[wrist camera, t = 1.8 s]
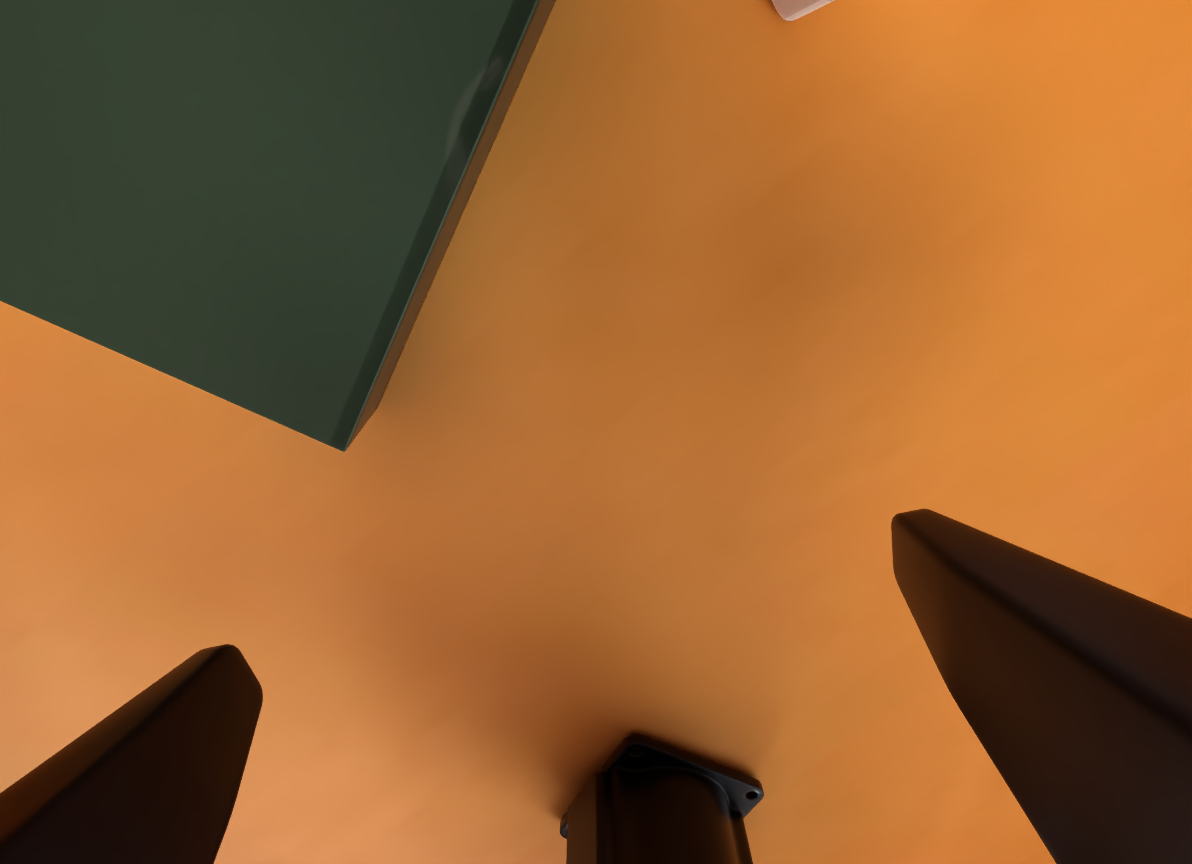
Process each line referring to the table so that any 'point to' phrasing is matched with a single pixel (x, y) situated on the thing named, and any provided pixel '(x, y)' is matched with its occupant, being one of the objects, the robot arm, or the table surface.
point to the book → (248, 181)
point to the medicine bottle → (797, 7)
